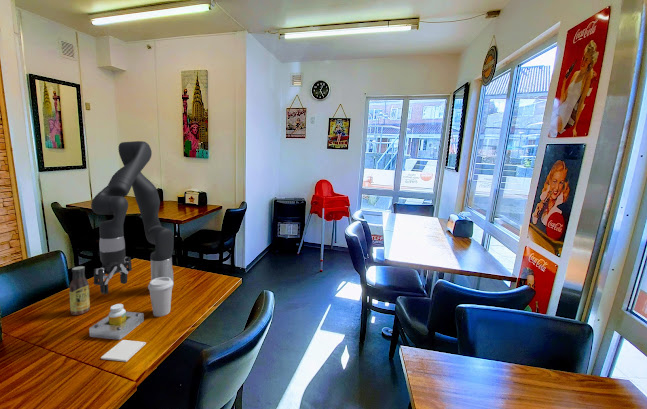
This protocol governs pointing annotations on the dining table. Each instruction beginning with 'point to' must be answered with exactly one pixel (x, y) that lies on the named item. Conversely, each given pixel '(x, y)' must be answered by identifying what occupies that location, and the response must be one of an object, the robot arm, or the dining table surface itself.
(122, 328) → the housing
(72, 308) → the sauce bottle
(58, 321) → the dining table surface
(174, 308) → the dining table surface
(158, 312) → the coffee cup
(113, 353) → the mat
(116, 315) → the supplement bottle
